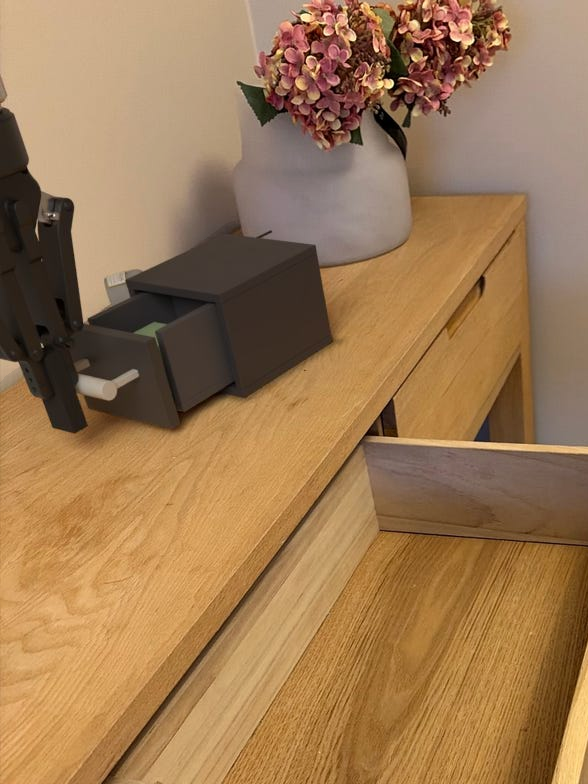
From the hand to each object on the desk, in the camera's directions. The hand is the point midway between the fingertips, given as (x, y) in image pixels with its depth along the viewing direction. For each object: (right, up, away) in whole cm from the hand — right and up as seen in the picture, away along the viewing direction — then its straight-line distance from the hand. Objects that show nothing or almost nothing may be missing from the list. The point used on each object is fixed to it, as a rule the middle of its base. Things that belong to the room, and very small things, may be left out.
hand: (70, 426), depth 82 cm
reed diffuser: (+3, +19, +27) cm, 33 cm away
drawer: (+5, +4, +8) cm, 10 cm away
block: (+6, +6, +8) cm, 11 cm away
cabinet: (+11, +10, +16) cm, 21 cm away
